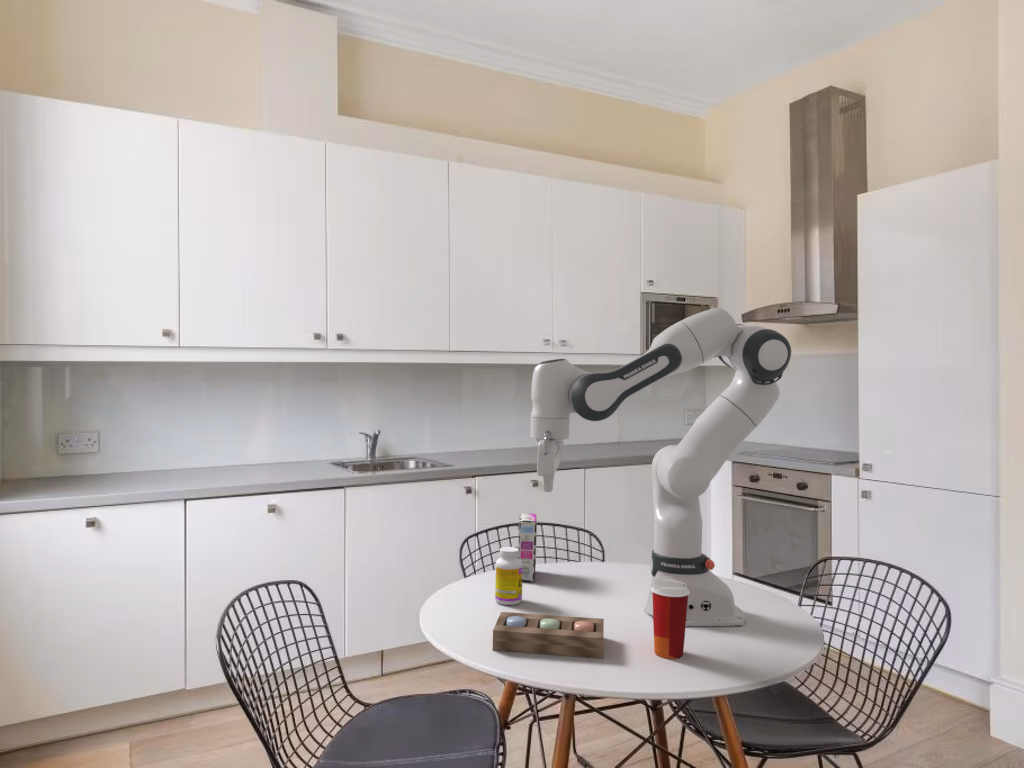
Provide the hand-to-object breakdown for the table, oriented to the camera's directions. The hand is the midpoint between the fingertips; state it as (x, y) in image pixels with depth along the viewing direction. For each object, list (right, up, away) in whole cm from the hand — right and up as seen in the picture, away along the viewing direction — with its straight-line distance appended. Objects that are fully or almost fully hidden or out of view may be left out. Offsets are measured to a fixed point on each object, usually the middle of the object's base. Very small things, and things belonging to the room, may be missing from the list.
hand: (548, 491), depth 156 cm
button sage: (-1, -27, -14) cm, 31 cm away
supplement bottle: (-9, -29, +12) cm, 33 cm away
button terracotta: (+6, -27, -15) cm, 32 cm away
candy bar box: (-4, -29, +33) cm, 44 cm away
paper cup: (+23, -30, -18) cm, 42 cm away
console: (-1, -29, -14) cm, 33 cm away
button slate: (-7, -27, -13) cm, 31 cm away
